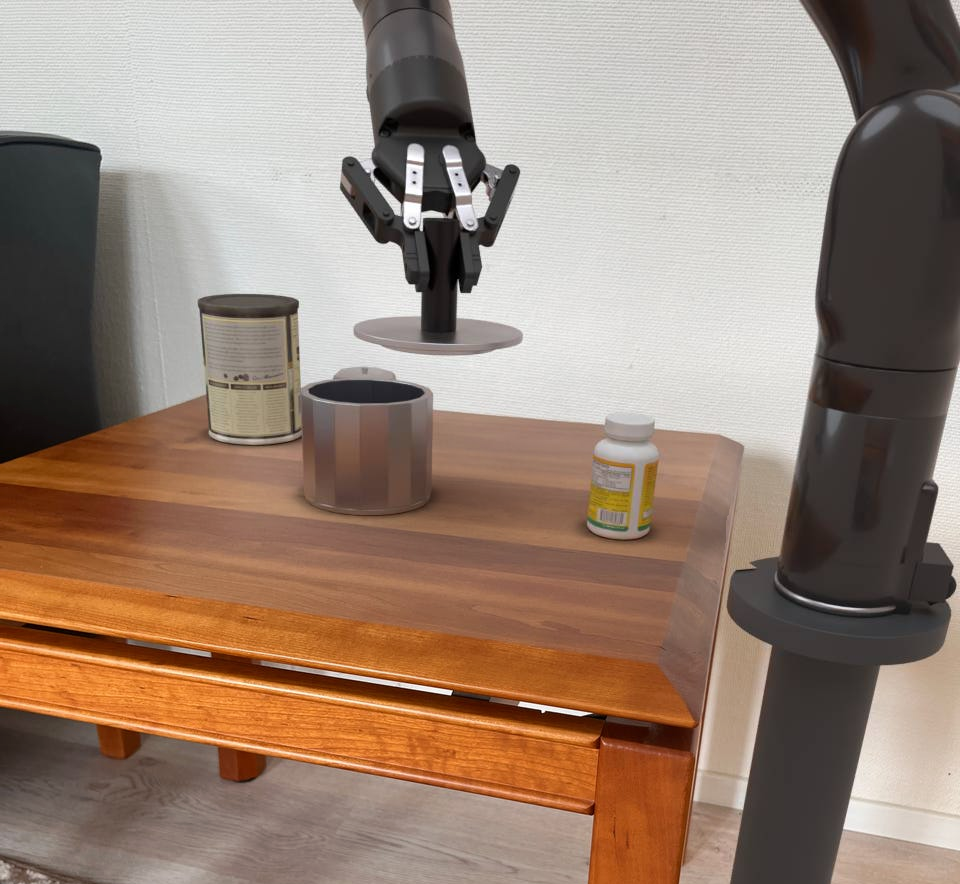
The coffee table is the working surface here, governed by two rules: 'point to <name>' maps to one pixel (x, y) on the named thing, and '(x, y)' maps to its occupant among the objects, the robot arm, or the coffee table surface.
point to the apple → (364, 373)
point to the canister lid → (439, 309)
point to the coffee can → (251, 367)
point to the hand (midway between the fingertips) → (446, 284)
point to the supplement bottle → (623, 478)
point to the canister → (366, 445)
